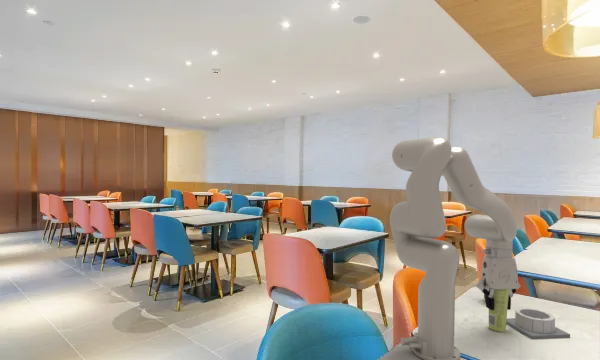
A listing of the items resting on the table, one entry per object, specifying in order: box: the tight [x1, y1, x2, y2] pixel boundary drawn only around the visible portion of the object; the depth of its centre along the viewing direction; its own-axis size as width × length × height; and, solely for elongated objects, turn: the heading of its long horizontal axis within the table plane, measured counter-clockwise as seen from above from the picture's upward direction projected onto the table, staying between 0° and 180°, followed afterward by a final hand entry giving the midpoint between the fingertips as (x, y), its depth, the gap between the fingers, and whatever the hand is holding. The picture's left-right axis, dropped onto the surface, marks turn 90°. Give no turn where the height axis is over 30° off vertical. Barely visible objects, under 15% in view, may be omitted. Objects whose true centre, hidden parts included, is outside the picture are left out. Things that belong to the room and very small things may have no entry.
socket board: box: [506, 307, 571, 340], centre depth 113 cm, size 13×13×5 cm
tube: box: [488, 289, 509, 333], centre depth 113 cm, size 6×5×20 cm
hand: (498, 307), depth 112 cm, fingers closed on tube, 4 cm apart
